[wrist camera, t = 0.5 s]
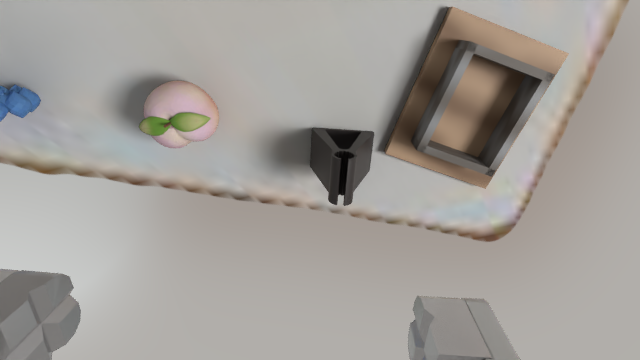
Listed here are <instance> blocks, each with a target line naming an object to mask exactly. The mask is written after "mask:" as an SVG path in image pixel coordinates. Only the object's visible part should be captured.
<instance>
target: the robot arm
mask: <svg viewBox="0 0 640 360" xmlns="http://www.w3.org/2000/svg"><path fill="white" fill-rule="evenodd" d="M73 288H74V287H73V285H72V282H71V280H70V277H69V276H67V275H64V274H58V273H47V272H35V271H24V270H22V271H18V270H7V269H0V360H52V352H53V351H55V350H57V349H59V348H60V347H62V346H64V345H66V344H67V342H68V341H69V340H70V339H71V337H72V336H73V335H74V334H75V332H76V329H77V327H78V325H79V322H80V313H81V310H80V307H79V303H78V302H77V301H76V300H75V299H74V298H73V297H72V296H70V293H71V291H72V290H73ZM413 311H414V315H415V320H414V321H413V322H412V323H410V328H409V334H408V349H409V357H410V360H520V358H519V356H518V355H517V353H516V351H515V350H514V348H513V346H512V344H511V342H510V341H509V339H508V337H507V335H506V333H505V332H504V330H503V328H502V327H501V325H500V323H499V321H498V319H497V317H496V316H495V314H494V312H493V310H492V309H491V307H490V305H489V303H488V302H487V301H486V300H484V299H472V298H461V299H460V298H445V297H427V296H426V297H425V296H417V298H416V300H415V302H414V307H413Z"/></svg>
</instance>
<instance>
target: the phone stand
mask: <svg viewBox="0 0 640 360" xmlns="http://www.w3.org/2000/svg"><path fill="white" fill-rule="evenodd" d="M373 138H374V132H372V131H357V130H342V129H328V128H312V139H311V160H310V167H311V168H312V170H313V171H314V172H315V174H316V175H317V177H318V178H319V180H320V181H321V182H322V184H323V185H324V187H325V188H326V189H327V191H328V192H329V196H328V200H329V202H331V203H332V204H334V205H337V201H338V195H340V194H341V195H344V204H343V205H344V206H345V205H349V204H351V203H352V199H353V192H354V190H355V189H356V188H357V186H358V185H359V184H360V182H361V181H362V180H363V178H364V177H365V176H366V174H367V173H368V172H369V170H370V162H371V154H372V146H373Z"/></svg>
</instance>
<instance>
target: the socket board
mask: <svg viewBox="0 0 640 360" xmlns="http://www.w3.org/2000/svg"><path fill="white" fill-rule="evenodd" d="M568 54H569V53H566V52H564V51H561V50H559V49H556V48H554V47H551V46H549V45H546V44H544V43H541V42H539V41H536V40H534V39H531V38H529V37H526V36H524V35H522V34H519V33H517V32H514V31H512V30H509V29H507V28H504V27H502V26H499V25H497V24H494V23H492V22H489V21H487V20H484V19H482V18H479V17H477V16H474V15H472V14H469V13H467V12H464V11H462V10H459V9H457V8H455V7H449V9H448V11H447V13H446V15H445V18H444V20H443V22H442V24H441V26H440V29H439V31H438V33H437V35H436V37H435V40H434V42H433V44H432V46H431V48H430V51H429V53H428V55H427V57H426V59H425V62H424V64H423V66H422V68H421V70H420V73H419V75H418V77H417V79H416V81H415V84H414V86H413V88H412V90H411V92H410V95H409V97H408V99H407V101H406V103H405V106H404V108H403V110H402V112H401V114H400V117H399V119H398V121H397V123H396V125H395V128H394V130H393V132H392V134H391V136H390V139H389V141H388V143H387V145H386V147H385V150H384V151H385V154H388V155H391V156H394V157H396V158H399V159H402V160H405V161H408V162H411V163H414V164H416V165H419V166H422V167H425V168H428V169H431V170H434V171H436V172H439V173H442V174H445V175H448V176H451V177H454V178H456V179H459V180H462V181H465V182H468V183H471V184H474V185H476V186H479V187H482V188H485V189H486V187H487V185H488V184H489V182H490V180H491V179H492V177H493V176H494V174H495V172H496V171H497V169H498V168H499V166H500V164H501V163H502V161H503V159H504V158H505V156H506V155H507V153H508V151H509V150H510V148H511V147H512V145H513V143H514V142H515V140H516V138H517V137H518V135H519V134H520V132H521V130H522V129H523V127H524V126H525V124H526V122H527V121H528V119H529V117H530V116H531V114H532V113H533V111H534V109H535V108H536V106H537V105H538V103H539V101H540V100H541V98H542V96H543V95H544V93H545V92H546V90H547V88H548V87H549V85H550V83H551V82H552V80H553V79H554V77H555V75H556V74H557V72H558V71H559V69H560V67H561V66H562V64H563V62H564V61H565V59H566V58H567V56H568Z"/></svg>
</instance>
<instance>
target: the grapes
mask: <svg viewBox="0 0 640 360" xmlns="http://www.w3.org/2000/svg"><path fill="white" fill-rule="evenodd" d="M40 101H41V99H40V98H39V96H38V95H37V94H36V93H34V92H32V91H30V90H28V89H26V88H24V87H23V88H21V87H19V86H17V85H14V86H13V87H11V88H10V89H9V90H8V89H7V88H5V87H3V86H0V121H2V120H3V119H4V118H5V116H6V114H7V113H8V112H10V113H12V114H14V115H16V116H19V117H21V118H23V117H25V116H26V115H27V114H28V113H29V112H33V111H34V110H35V109H36V108H37V107H38V106H39V104H40Z"/></svg>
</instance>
